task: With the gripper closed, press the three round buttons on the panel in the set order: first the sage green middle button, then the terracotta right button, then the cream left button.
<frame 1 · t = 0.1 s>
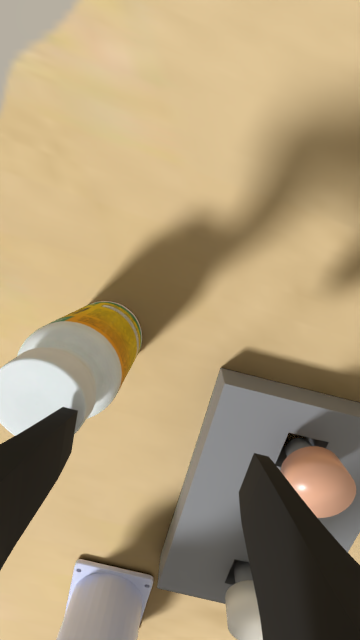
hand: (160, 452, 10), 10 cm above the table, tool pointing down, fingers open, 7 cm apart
button cream: (249, 594, 21), point 4 cm above the table, slide at 0.0 cm
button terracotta: (309, 468, 17), point 4 cm above the table, slide at 0.0 cm
supplement bottle: (110, 332, 20), on the table
panel: (262, 491, 23), on the table
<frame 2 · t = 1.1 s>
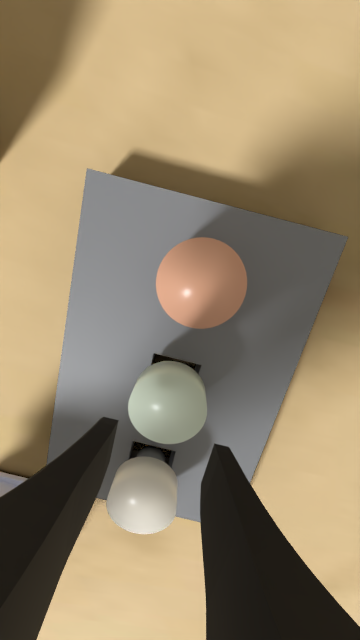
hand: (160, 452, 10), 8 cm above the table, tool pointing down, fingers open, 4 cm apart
button sage: (170, 391, 15), point 4 cm above the table, slide at 0.0 cm
button cream: (146, 480, 16), point 4 cm above the table, slide at 0.0 cm
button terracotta: (199, 280, 13), point 4 cm above the table, slide at 0.0 cm
panel: (174, 364, 18), on the table
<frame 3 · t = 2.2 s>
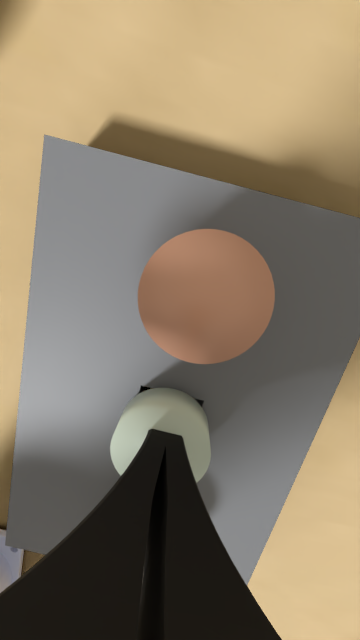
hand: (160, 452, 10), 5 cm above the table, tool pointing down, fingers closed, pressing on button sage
button sage: (164, 424, 12), point 3 cm above the table, slide at 1.0 cm, touching gripper
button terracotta: (202, 292, 9), point 4 cm above the table, slide at 0.0 cm
panel: (169, 392, 14), on the table
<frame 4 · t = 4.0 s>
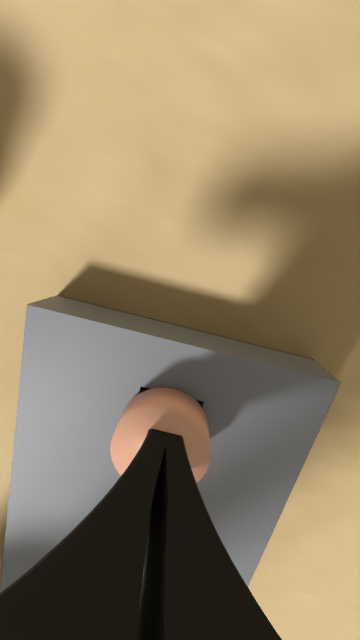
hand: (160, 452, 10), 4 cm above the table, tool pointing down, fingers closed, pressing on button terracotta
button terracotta: (164, 424, 12), point 3 cm above the table, slide at 1.1 cm, touching gripper
panel: (145, 482, 16), on the table
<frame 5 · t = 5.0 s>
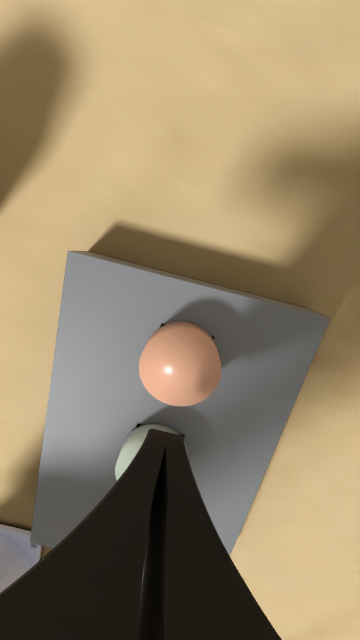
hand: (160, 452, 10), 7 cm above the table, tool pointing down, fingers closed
button sage: (155, 450, 16), point 3 cm above the table, slide at 1.2 cm
button cream: (130, 546, 16), point 4 cm above the table, slide at 0.0 cm
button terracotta: (181, 355, 14), point 3 cm above the table, slide at 1.2 cm
panel: (160, 423, 18), on the table
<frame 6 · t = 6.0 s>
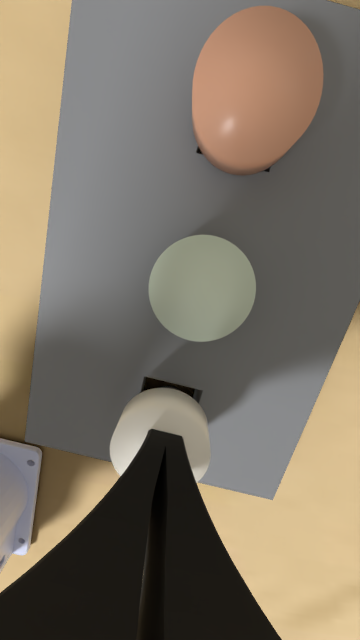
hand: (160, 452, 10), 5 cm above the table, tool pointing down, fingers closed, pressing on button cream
button sage: (199, 285, 11), point 3 cm above the table, slide at 1.2 cm
button cream: (164, 424, 12), point 4 cm above the table, slide at 0.1 cm, touching gripper
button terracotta: (244, 118, 10), point 3 cm above the table, slide at 1.2 cm
panel: (198, 279, 14), on the table
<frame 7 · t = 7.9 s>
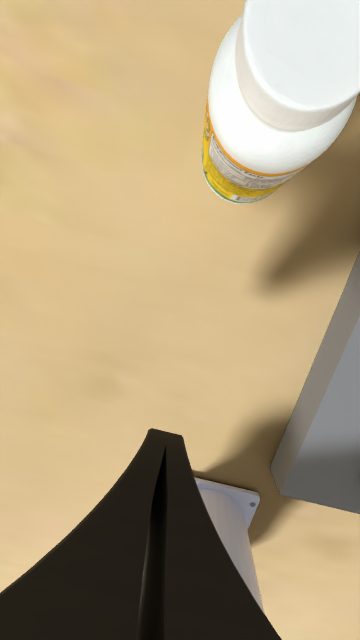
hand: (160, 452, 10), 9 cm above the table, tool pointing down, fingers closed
supplement bottle: (243, 159, 16), on the table
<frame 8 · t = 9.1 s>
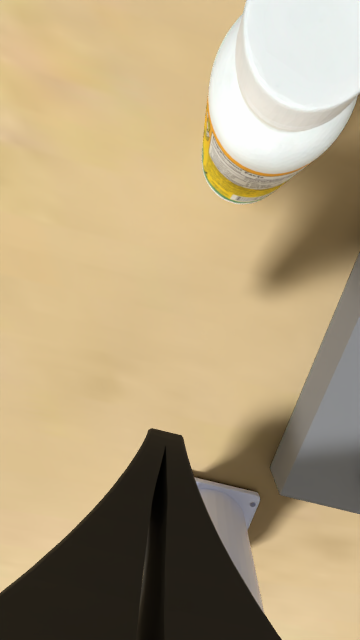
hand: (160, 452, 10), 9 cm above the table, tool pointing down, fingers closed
supplement bottle: (243, 159, 16), on the table
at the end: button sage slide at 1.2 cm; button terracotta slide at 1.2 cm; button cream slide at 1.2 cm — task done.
